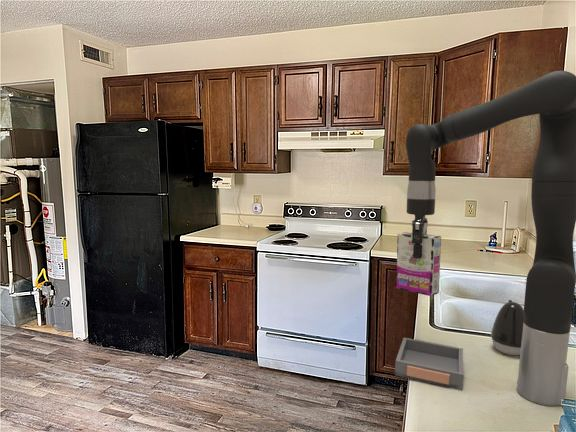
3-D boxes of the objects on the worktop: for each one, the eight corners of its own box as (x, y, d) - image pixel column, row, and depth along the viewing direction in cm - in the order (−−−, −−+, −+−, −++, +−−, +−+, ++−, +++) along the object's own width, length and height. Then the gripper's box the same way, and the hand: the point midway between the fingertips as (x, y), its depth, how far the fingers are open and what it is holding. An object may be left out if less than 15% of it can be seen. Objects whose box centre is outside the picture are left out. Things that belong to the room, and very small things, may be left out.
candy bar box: (439, 293, 113) (442, 235, 111) (431, 297, 109) (433, 237, 108) (403, 285, 121) (405, 231, 119) (394, 288, 117) (396, 232, 116)
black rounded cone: (524, 347, 123) (529, 299, 121) (532, 362, 113) (537, 310, 112) (487, 341, 127) (492, 294, 125) (492, 355, 117) (497, 305, 115)
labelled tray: (461, 362, 112) (462, 348, 112) (461, 391, 97) (463, 375, 97) (402, 350, 118) (403, 337, 118) (394, 376, 103) (395, 361, 103)
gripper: (433, 199, 104) (430, 262, 106) (437, 196, 117) (434, 252, 119) (403, 198, 107) (401, 259, 109) (410, 195, 120) (408, 250, 122)
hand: (418, 255), depth 114 cm, fingers closed on candy bar box, 6 cm apart
